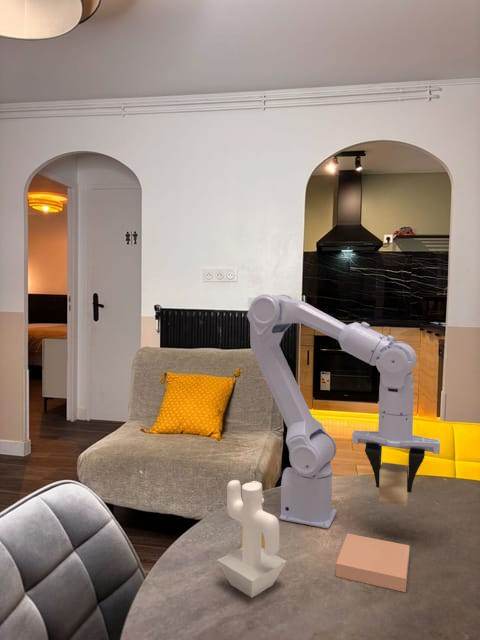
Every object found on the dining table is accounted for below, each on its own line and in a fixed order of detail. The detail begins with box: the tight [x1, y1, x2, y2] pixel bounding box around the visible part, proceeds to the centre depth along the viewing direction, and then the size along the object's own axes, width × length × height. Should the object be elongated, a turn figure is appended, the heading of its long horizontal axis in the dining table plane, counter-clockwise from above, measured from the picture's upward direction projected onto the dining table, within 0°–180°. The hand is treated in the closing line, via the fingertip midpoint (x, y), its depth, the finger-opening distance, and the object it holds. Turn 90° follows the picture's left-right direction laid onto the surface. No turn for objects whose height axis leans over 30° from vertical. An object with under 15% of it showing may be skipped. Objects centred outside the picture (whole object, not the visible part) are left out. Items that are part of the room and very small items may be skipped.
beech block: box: [378, 461, 409, 507], centre depth 84 cm, size 4×4×6 cm
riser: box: [335, 533, 410, 593], centre depth 75 cm, size 10×10×2 cm
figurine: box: [216, 479, 287, 599], centre depth 69 cm, size 7×9×15 cm
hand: (393, 487), depth 84 cm, fingers closed on beech block, 4 cm apart
